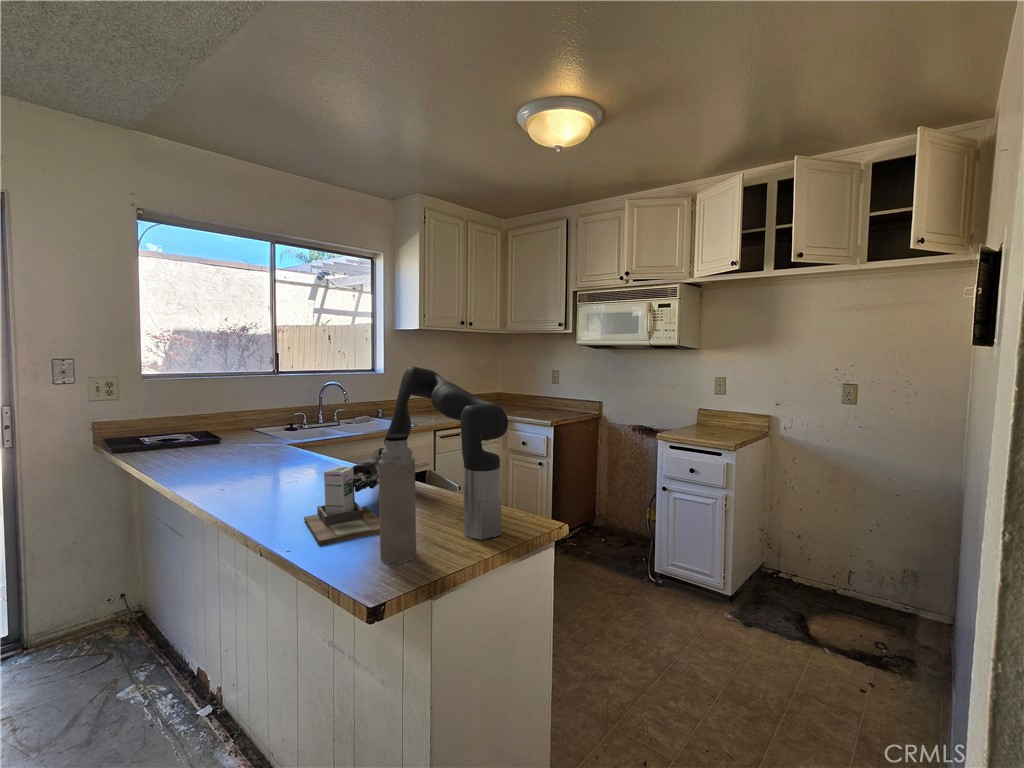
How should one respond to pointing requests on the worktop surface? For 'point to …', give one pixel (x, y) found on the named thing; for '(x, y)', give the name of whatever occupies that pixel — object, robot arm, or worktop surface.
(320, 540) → the board
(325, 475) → the syrup box
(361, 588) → the worktop surface
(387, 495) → the thermos bottle
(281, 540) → the worktop surface
